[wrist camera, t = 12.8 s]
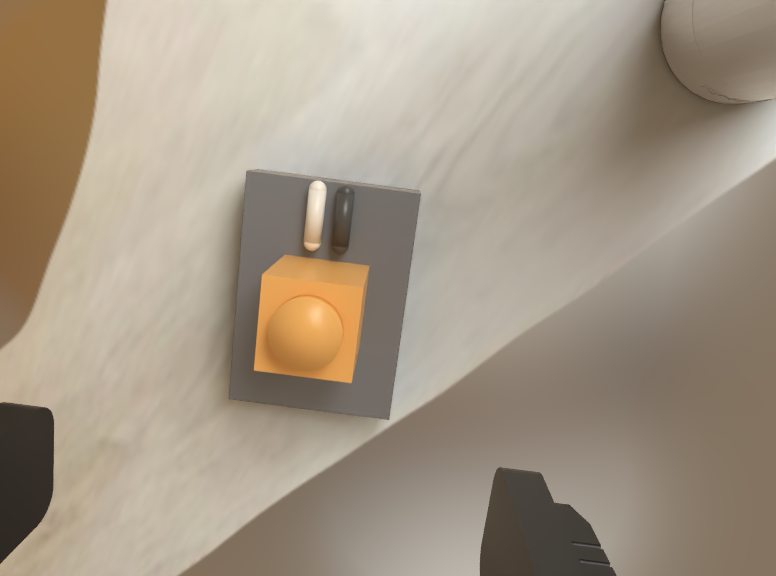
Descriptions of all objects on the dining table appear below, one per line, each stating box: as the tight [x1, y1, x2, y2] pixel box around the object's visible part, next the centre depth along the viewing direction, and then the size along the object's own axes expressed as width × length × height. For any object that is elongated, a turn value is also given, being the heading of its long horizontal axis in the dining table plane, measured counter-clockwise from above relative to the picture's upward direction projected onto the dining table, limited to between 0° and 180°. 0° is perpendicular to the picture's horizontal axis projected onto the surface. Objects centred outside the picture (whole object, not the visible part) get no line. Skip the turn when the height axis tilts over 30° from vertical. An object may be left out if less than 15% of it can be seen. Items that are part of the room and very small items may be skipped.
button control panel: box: [229, 169, 421, 420], centre depth 35 cm, size 14×10×8 cm
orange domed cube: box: [254, 255, 370, 383], centre depth 33 cm, size 5×5×7 cm
